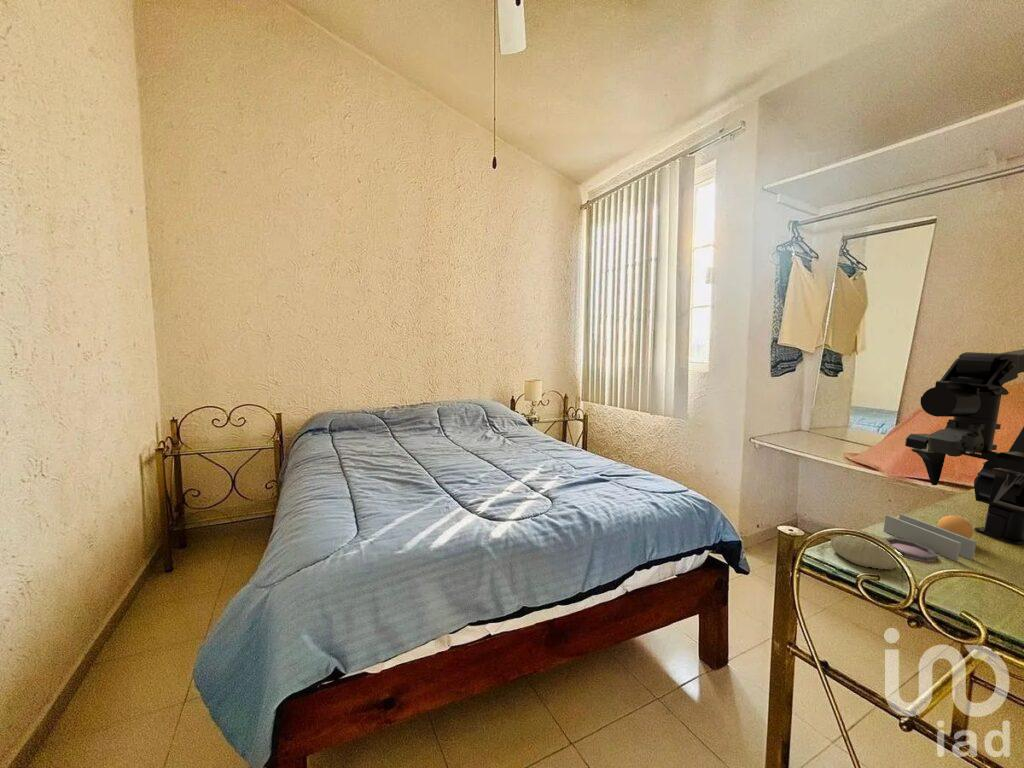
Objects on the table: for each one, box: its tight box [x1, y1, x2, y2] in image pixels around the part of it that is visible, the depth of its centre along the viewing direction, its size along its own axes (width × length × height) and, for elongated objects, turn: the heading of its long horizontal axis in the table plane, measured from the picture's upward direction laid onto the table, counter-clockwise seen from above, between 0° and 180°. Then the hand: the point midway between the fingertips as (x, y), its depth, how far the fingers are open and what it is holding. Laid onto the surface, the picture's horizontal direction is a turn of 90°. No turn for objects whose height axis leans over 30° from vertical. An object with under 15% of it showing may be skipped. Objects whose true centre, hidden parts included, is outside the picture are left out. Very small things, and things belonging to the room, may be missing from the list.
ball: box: [937, 515, 975, 539], centre depth 85 cm, size 5×5×5 cm
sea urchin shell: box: [830, 528, 898, 570], centre depth 75 cm, size 9×8×8 cm
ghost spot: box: [883, 536, 938, 563], centre depth 79 cm, size 8×8×1 cm
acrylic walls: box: [883, 513, 978, 562], centre depth 82 cm, size 5×12×4 cm, turn 14°
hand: (961, 493), depth 84 cm, fingers open, 9 cm apart
